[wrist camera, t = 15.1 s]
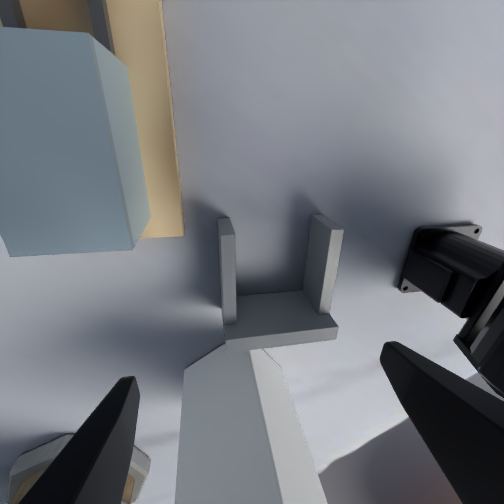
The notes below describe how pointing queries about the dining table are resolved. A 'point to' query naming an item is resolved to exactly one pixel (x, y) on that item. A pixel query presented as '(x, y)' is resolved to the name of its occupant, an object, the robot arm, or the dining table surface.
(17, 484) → the tankard
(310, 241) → the bay
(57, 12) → the board
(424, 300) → the dining table surface
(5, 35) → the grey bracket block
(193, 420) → the milk carton
